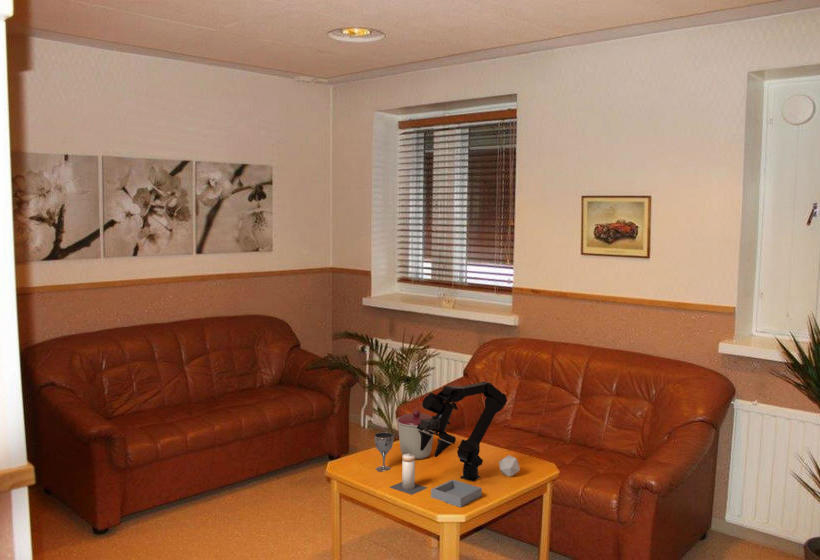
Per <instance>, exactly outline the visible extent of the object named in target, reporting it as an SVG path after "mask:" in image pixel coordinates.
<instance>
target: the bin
mask: <svg viewBox="0 0 820 560" xmlns="http://www.w3.org/2000/svg"><path fill="white" fill-rule="evenodd" d="M482 491H483V488H482V487H481V486H476V485H472V484H469V483H466V482H463V481H459V480H456V479H451V480H447V482H446V481H445V482H443V483H442V484H440V485H437V486H435V487H433V488H431V489H430V498H432V499H435V500H438V501H441V502H444V503H446V504H449V505H451V506H455V507H458V508H463V507H465V506H466V505H469V504H470V503H472V502H474V501H476V500H477V499H480V498H481V497H482V495H483V494H482V493H483V492H482Z"/></svg>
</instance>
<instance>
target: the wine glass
mask: <svg viewBox="0 0 820 560" xmlns="http://www.w3.org/2000/svg"><path fill="white" fill-rule="evenodd" d="M374 443H375V447H376V450H377V451H378V452H379V453H380V454H381V457H382V465H380V466H377V467H376V468H375V470H377V471H376V472H379V473H382V472H387V471H390V470H391V469H392V467H390V466H386V457H387V455H388V453H389V452H390V451H391V450H392V447H393V444H394V433H392V432H386V431H385V432H384V431H383V432H376V433H375V434H374Z"/></svg>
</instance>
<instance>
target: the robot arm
mask: <svg viewBox="0 0 820 560" xmlns="http://www.w3.org/2000/svg"><path fill="white" fill-rule="evenodd" d="M480 394H482V395H483V396H484V397H485V399H484V409H483V411H482V412H481V414H480V417H479V418H478V421H477V422H476V424H475V426H474V428H473V430H472V432H471V433H470V435H469V437H468V438H467V439H461V441H460V443H459V445H458V446H457V451H456V452H457V457H458V459H459V461H460V462H461V463H463V466H462V467H463V469H462V475H461V476H460V477H459V478H460V479H462V480H466V481H470V482H475V481H477V480H478V479H481V478H482V476H481V475H479V467H480V466H482V465H483V462H484V460H483V459H482V458H481V457H480V451H481V449H480V447H481V446H480V444H481V442H482V440H483V438H484V436H485V435H486V433H487V431H488V429H489V427H490V425H491V423H492V421H493V419H494V417H495V415H496V414H497V413H498V412H500V411H502V410H503V409H504V408H505V405H506V403H507V401H508V399H507V396H506V394H505V393H503V392H502V391H500V390H499V389H498V388H497V387H495V386H494V385H493V384H492V383H491V382H489V381H485V380H482V381H481V382H476V383H471V384H465V385H462V386H460V385H445V386H444V387H443V388H442V390H440V391H438V393H436V394H435V393H433V392H429V394H427V395H426V396H425V397H424V398H423V399H422V403H421V404H422V408H423V409H425V410H426V411H429V412H431V413H434V414H435V415H432V418H431V419H421V422H420V424H418V426H417V429H419V430H420V431H419V430H418V432H419V433H420V435H421V447H420V450H421V451H423V450H424V448H425V447H426V445H427V444H428V442H429V441H430V439H431V437H432V436H431V435H429V434H434V435H433V436H437V437H438V438H436V439H437V446H436V449H435V452H434V455H433V456H434V457H435V458H438V457H439V456H440V455H441V454H442V453H443V452H444V451H445V450H446V449H447V448H448V447H450V446H452V445H454V444H455V443H456V441H457V437H456V436H454V435H451V434H449V433H447V431H446V429H447V426H448V425H450V426H451V421H450V419H451V415H452V413H453V411H454V410H456V411H458V410H459V409H458V405H457V403H458V402H460V401H463V400H464V399H465V398H467V397H470V396H475V395H480Z"/></svg>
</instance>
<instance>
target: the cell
mask: <svg viewBox="0 0 820 560" xmlns="http://www.w3.org/2000/svg"><path fill="white" fill-rule="evenodd" d="M401 458H402V459H401V460H402V462H401V463H402V464H401V465H402V466H401V467H402V469H401V470H402V471H401V473H402V474H401V482H402V488H403V489H405V490H412V489H414V488H415V484H416V480H415V479H416V459H415V455H414V454H409V453H408V454H404V455H403V454H402V457H401Z"/></svg>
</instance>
